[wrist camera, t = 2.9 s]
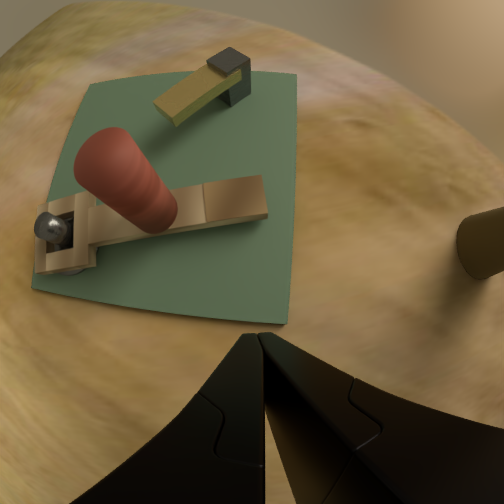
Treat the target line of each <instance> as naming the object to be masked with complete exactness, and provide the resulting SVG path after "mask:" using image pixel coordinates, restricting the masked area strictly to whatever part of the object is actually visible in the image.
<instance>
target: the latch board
mask: <svg viewBox="0 0 504 504" xmlns="http://www.w3.org/2000/svg"><path fill="white" fill-rule="evenodd" d="M193 72H195V71H188V72H173V73H161V74H152V75H143V76H135V77H128V78H122V79H116V80H110V81H105V82H99V83H94V84H90V86H89V88H88V90H87V92H86V94H85V96H84V98H83V100H82V103H81V105H80V107H79V109H78V112H77V114H76V116H75V119H74V121H73V123H72V126H71V128H70V131H69V133H68V136H67V139H66V141H65V144H64V147H63V150H62V152H61V155H60V158H59V161H58V164H57V167H56V171H55V174H54V177H53V180H52V184H51V187H50V191H49V195H48V198H47V202H46V203H48V202H51V201H54V200H57V199H60V198H64V197H67V196H70V195H74V194H77V193H81V192H84V191H87V190H86V189H85V188H83V187H82V186H81V185H79V184H78V182H77V181H76V179H75V177H74V171H73V167H74V161H75V158H76V155H77V153H78V151H79V149H80V148H81V146H82V145H83V144H84V142H85V141H86V140H87V139H88V138H89V137H91V136H92V135H93V134H95V133H96V132H98V131H100V130H102V129H105V128H109V127H118V128H122V129H124V130H126V131H127V132H128V133H129V134H130V136H131V137H132V139H133V140H134V141H135V143H136V144H137V146H138V147H139V149H140V150H141V151H142V153H143V154H144V156H145V157H146V159H147V160H148V161H149V163H150V164H151V166H152V167H153V169H154V170H155V171H156V173H157V174H158V176H159V177H160V178H161V180H162V181H163V183H164V184H165V185H166V187H167V188H168V190H172V189H177V188H183V187H188V186H194V185H200V184H203V183H208V182H214V181H220V180H227V179H233V178H240V177H247V176H255V175H262V180H263V186H264V192H265V198H266V203H267V209H268V219H264V220H257V221H250V222H243V223H236V224H230V225H223V226H216V227H210V228H203V229H197V230H191V231H185V232H179V233H172V234H167V235H161V236H155V237H149V238H143V239H137V240H132V241H126V242H121V243H115V244H110V245H104V246H100V248H99V251H98V253H97V255H96V267H90V268H86V269H85V270H84V271H82V272H81V273H79V274H77V275H73V276H65V275H61V274H58V273H53V274H47V275H41V274H36V273H35V262H34V270H33V277H32V286H31V288H34V289H39V290H43V291H47V292H52V293H57V294H61V295H66V296H71V297H76V298H81V299H86V300H92V301H97V302H103V303H108V304H114V305H120V306H126V307H133V308H139V309H146V310H153V311H160V312H167V313H175V314H182V315H191V316H199V317H208V318H218V319H228V320H238V321H250V322H263V323H277V324H287V321H288V309H289V295H290V281H291V265H292V248H293V229H294V207H295V179H296V137H297V74H288V73H276V72H261V71H251V94H250V95H248V96H247V97H245V98H244V99H242V100H241V101H240V102H238V103H237V104H235V105H234V106H233V107H230V106H228V105H227V104H226V103H224V102H223V101H222V100H220V99H219V98H218V97H215V98H214V99H213V100H211V101H210V102H208V103H207V104H206V105H204V106H203V107H201V108H200V109H199V110H197V111H196V112H195V113H193V114H192V115H191V116H189V117H188V118H187V119H186V120H184V121H183V122H182V123H180V124H179V125H178V126H177V127H175V126H174V125H173V124H172V123H171V122H169V121H168V120H167V119H166V118H165V117H164V116H162V115H161V114H160V113H159V112H158V111H157V110H156V108H155V106H154V104H153V102H152V101H154V100H155V99H156V98H158V97H159V96H160V95H162V94H163V93H164V92H166V91H167V90H169V89H170V88H171V87H173V86H174V85H176V84H177V83H178V82H180V81H181V80H183V79H184V78H186V77H187V76H189V75H190V74H192V73H193ZM102 204H105V203H103V202H102V201H101V200H99V199H98V198H97V197H96V206H98V205H102Z"/></svg>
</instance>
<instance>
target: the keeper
mask: <svg viewBox="0 0 504 504" xmlns="http://www.w3.org/2000/svg"><path fill="white" fill-rule="evenodd" d="M206 61H207V64H206V65H204V66H203V67H201V68H199V69H198V70H196V71H195V72H193V73H192V74H190V75H189V76H187V77H186V78H184V79H183V80H181V81H180V82H178V83H177V84H176V85H174V86H173V87H171V88H170V89H169V90H167V91H166V92H164V93H163V94H162V95H160V96H159V97H158V98H156V99H155V100H154V101H152V102H153V104H154V106H155V108H156V110H157V111H158V112H159V113H160V114H161V115H162V116H164V117H165V118H166V119H167V120H168V121H169V122H171V123H172V124H173V125H174V126H175V127H177V126H178V125H179V124H180V123H182V122H183V121H184V120H186V119H187V118H188V117H189V116H191V115H192V114H193V113H195V112H196V111H197V110H199V109H200V108H201V107H203V106H204V105H206V104H207V103H208V102H210V101H211V100H213V99H214V98H215V97H218V98H219V99H220V100H222V101H223V102H224V103H226V104H227V105H228V106H230V107H233V106H234V105H235V104H237V103H238V102H240V101H241V100H242V99H244V98H245V97H247V96H248V95H250V94H251V64H250V58H249V57H247V56H245V55H244V54H242V53H240V52H238V51H236V50H235V49H233V48H231V47H228V48H226V49H225V50H223V51H221V52H219V53H218V54H216V55H214V56H213V57H211V58H209V59H208V60H206Z"/></svg>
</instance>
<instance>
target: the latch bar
mask: <svg viewBox="0 0 504 504" xmlns="http://www.w3.org/2000/svg"><path fill="white" fill-rule="evenodd" d="M73 171H74V177H75V179H76V181H77V182H78V184H79V185H81V186H82V187H83V188H85V189H86V190H87V191H84V192H81V193H77V194H74V195H70V196H67V197H64V198H60V199H57V200H54V201H51V202H48V203H45V204H42V205H39V206H38V208H37V218H38V216H39V215H40V214H41V213H43V212H49V213H51V214H53V215H55V216H57V217H59V218H61V219H62V220H64V219H68V218H72V217H74V242H73V248H71V249H66V250H61V251H57V252H55V244H53V243H51V242H48V241H45V240H43V239H40V238H38V237H37V236H36V235H35V273H36V274H41V275H47V274H53V273H59V272H65V271H71V270H77V269H84V268H90V267H96V247H99V246H104V245H110V244H115V243H121V242H126V241H132V240H137V239H143V238H149V237H155V236H161V235H167V234H172V233H179V232H185V231H191V230H197V229H203V228H210V227H216V226H223V225H230V224H236V223H243V222H250V221H257V220H264V219H268V209H267V203H266V198H265V192H264V186H263V180H262V175H255V176H247V177H240V178H233V179H227V180H220V181H214V182H208V183H203V184H200V185H194V186H188V187H183V188H177V189H172V190H168V188H167V187H166V185H165V184H164V183H163V181H162V180H161V178H160V177H159V176H158V174H157V173H156V171H155V170H154V169H153V167H152V166H151V164H150V163H149V161H148V160H147V159H146V157H145V156H144V154H143V153H142V151H141V150H140V149H139V147H138V146H137V144H136V143H135V141H134V140H133V139H132V137H131V136H130V134H129V133H128V132H127V131H126V130H124V129H122V128H118V127H109V128H105V129H102V130H100V131H98V132H96V133H95V134H93V135H92V136H91V137H89V138H88V139H87V140H86V141H85V142H84V144H83V145H82V146H81V148H80V149H79V151H78V153H77V155H76V158H75V161H74V167H73ZM96 197H97V198H98V199H99V200H101V201H102V202H103V203H105V204H102V205H98V206H96Z"/></svg>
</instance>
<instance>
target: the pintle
mask: <svg viewBox="0 0 504 504" xmlns="http://www.w3.org/2000/svg"><path fill="white" fill-rule="evenodd" d="M34 232H35V235H36V236H37V237H38V238H40V239H43V240H45V241H48V242H51V243H53V244H55V252H57V251H61V250H66V249H71V248H73V242H74V217H72V218H68V219H64V220H62V219H61V218H59V217H57V216H55V215H53V214H51V213H49V212H43V213H41V214H40V215H39V216H38V218H37V219H36V222H35V225H34ZM99 248H100V246H99V247H96V255H97V253H98V251H99ZM85 269H86V268H84V269H77V270H71V271H65V272H59V273H58V274H61V275H65V276H73V275H77V274H79V273H81V272H82V271H84V270H85Z"/></svg>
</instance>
